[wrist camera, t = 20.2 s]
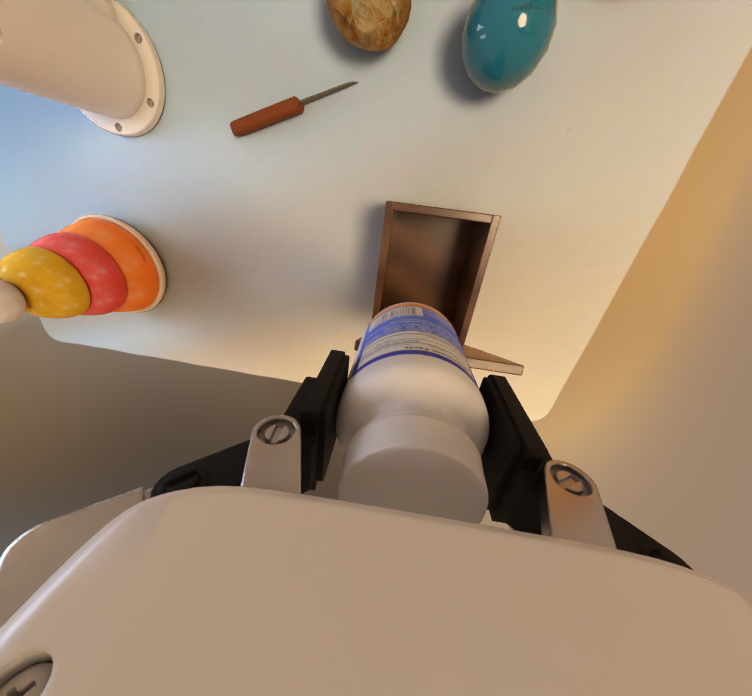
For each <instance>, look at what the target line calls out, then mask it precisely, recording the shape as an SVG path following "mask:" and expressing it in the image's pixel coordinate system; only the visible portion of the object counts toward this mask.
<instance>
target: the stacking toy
mask: <svg viewBox="0 0 752 696" xmlns="http://www.w3.org/2000/svg"><path fill="white" fill-rule="evenodd" d="M165 288H166V277H165V272H164V268H163V265H162V263H161V261H160V258H159V256H158V255H157V253H156V251H155V250H154V248H153V247H152V246H151V244H150V243H149V242H148V241H147V240H146V239H145V238H144V237H143V236H142V235H141V234H140V233H139V232H138V231H136V230H135V229H134V228H132V227H131V226H129V225H128V224H126V223H124V222H122V221H120V220H118V219H115V218H112V217H109V216H105V215H99V214H90V215H85V216H82V217H80V218H78V219H77V220H75V221H74V222H73V223H72V224H71V225H69V226H67V227H65V228H64V229H62V230H61V231H60V232H59V233H53V234H49V235H46V236H44V237H42V238H39V239H38V240H36V241H35V242H33V243H32V244H31V245H30V246H29V247H26V248H22V249H18V250H16V251H13V252H11V253H10V254H8V255H7V256H5V257H4V258H3V259H2V260H1V261H0V323H5V322H9V321H12V320H14V319H16V318H18V317H19V316H20V315H22V313H23V312H24V311H25V312H27V313H30V314H33V315H36V316H40V317H46V318H69V317H74V316H78V315H101V314H106V313H110V312H131V313H140V312H145V311H148V310H150V309H152V308H154V307H155V306H156V305H157V304H158V303H159V302H160V301H161V299H162V297H163V295H164V292H165Z"/></svg>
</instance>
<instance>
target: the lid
mask: <svg viewBox="0 0 752 696" xmlns="http://www.w3.org/2000/svg"><path fill="white" fill-rule="evenodd" d="M361 339H362V337H361V338H359V339H358V340H356V341H355V347H354V350H356V351H358V348H359V345H360V342H361ZM461 347H462V349H463V352H464V354H465V357H466V359H467V362H468V364H469V366H470V368H475V369H482V370H488V371H495V372H501V373H508V374H515V375H522V373H523V368H524V366H523V365H520V364H517V363H515V362H512V361H509V360H506V359H503V358H501V357H498V356H495V355H492V354H489V353H487V352H484V351H481V350H478V349H475V348H473V347H470V346H467V345H464V344H461Z"/></svg>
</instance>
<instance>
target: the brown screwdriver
mask: <svg viewBox="0 0 752 696" xmlns="http://www.w3.org/2000/svg"><path fill="white" fill-rule="evenodd" d="M357 83H358V82H348V83H345V84H343V85H340V86H337V87H334V88H332V89H329V90H326V91H324V92H321V93H318V94H316V95H313V96H310V97H308V98H305V99H302V100H299V99H298V98H297V97H295V96H294V97H292V98H289V99H286V100H284V101H281V102H279V103H276V104H274V105H271V106H269V107H266V108H264V109H261V110H259V111H256V112H254V113H251V114H249V115H247V116H244V117H242V118H239V119H237V120H234V121H232V122H231V123H230V126H231V129H232V132H233V134H234V135H235V136H238V137H239V136H244V135H247V134H250V133H252V132H255V131H257V130H260V129H262V128H265V127H267V126H269V125H272V124H274V123H277V122H279V121H282V120H284V119H287V118H289V117H292V116H295V115H298V114H301V113H303V110H304V105H305V104H308V103H311V102H313V101H316V100H318V99H320V98H323V97H325V96H328V95H330V94H333V93H335V92H338V91H340V90H342V89H345V88H347V87H350V86H352V85H354V84H357Z"/></svg>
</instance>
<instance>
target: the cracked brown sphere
mask: <svg viewBox="0 0 752 696" xmlns="http://www.w3.org/2000/svg"><path fill="white" fill-rule="evenodd" d="M327 4H328V9H329V12H330V15H331V18H332V20H333V22H334V24H335V26H336V28H337V30H338V31H339V33H340V34H341V35H342V36H343V37H344V38H345V39H346V40H347V41H348V42H349V43H350V44H352V45H354V46H356V47H358V48H361V49H365V50H369V51H382V50H386V49H388V48H390V47H391V46H393V45H394V44H395V43H396V42H397V40H398V39H399V37H400V35H401V34H402V32H403V30H404V28H405V26H406V24H407V22H408V19H409V14H410V10H411V0H327Z"/></svg>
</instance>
